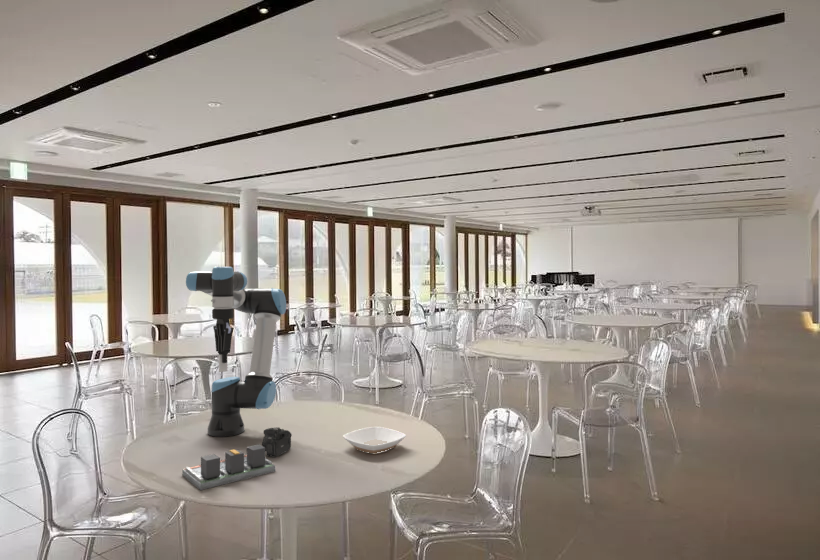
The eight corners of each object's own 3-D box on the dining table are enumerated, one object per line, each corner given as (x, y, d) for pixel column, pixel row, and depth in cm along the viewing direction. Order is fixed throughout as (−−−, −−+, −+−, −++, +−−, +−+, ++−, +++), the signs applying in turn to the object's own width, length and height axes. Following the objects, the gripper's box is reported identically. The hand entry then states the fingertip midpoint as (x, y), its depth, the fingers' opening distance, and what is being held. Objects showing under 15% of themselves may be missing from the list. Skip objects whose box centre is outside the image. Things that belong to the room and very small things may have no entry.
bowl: (335, 448, 218) (335, 435, 218) (375, 436, 234) (375, 424, 234) (373, 462, 204) (373, 447, 203) (413, 448, 219) (413, 435, 219)
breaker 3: (246, 463, 194) (246, 446, 194) (258, 461, 197) (258, 444, 197) (253, 467, 190) (253, 450, 190) (265, 464, 193) (265, 447, 193)
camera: (267, 447, 220) (267, 422, 220) (292, 447, 220) (292, 422, 220) (259, 458, 207) (258, 432, 206) (285, 458, 207) (285, 432, 207)
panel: (182, 475, 190) (182, 466, 190) (254, 458, 206) (254, 450, 206) (200, 490, 177) (200, 480, 177) (275, 471, 193) (275, 462, 193)
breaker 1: (200, 474, 184) (200, 456, 184) (214, 471, 187) (214, 453, 187) (206, 479, 180) (206, 460, 180) (220, 475, 183) (220, 457, 183)
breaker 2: (225, 469, 189) (225, 450, 188) (237, 466, 191) (237, 448, 191) (231, 473, 185) (231, 454, 185) (244, 470, 188) (244, 451, 188)
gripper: (206, 307, 209) (206, 370, 209) (219, 309, 199) (220, 375, 199) (225, 306, 213) (226, 367, 214) (239, 308, 204) (240, 372, 204)
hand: (223, 371), depth 206 cm, fingers closed
